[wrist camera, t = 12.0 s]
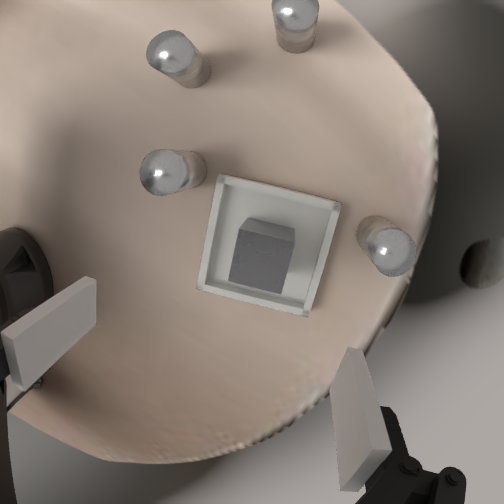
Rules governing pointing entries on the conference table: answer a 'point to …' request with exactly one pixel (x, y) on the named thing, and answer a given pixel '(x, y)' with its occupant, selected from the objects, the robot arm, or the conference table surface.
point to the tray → (278, 212)
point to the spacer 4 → (386, 246)
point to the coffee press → (17, 392)
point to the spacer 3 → (295, 23)
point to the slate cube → (262, 255)
